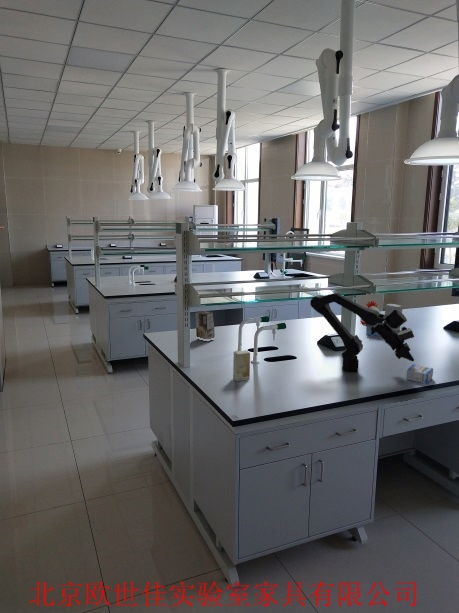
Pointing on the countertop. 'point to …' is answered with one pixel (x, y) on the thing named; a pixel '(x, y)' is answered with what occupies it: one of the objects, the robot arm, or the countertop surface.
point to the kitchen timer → (371, 306)
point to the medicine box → (419, 373)
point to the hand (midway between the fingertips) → (413, 360)
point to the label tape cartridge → (368, 329)
